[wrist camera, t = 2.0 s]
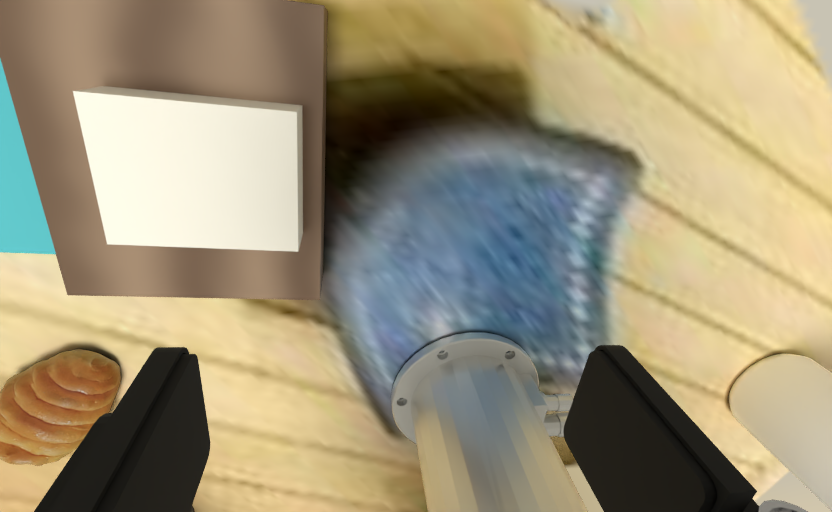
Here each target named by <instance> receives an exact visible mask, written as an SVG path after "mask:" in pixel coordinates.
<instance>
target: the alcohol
mask: <svg viewBox="0 0 832 512" xmlns="http://www.w3.org/2000/svg"><path fill="white" fill-rule="evenodd" d="M729 404H730V408H731V411H732V414H733V416H734V417H735V419H736V420H737V421H738V422H739V423H740V424H741V425H742V426H744V427H745V428H746V429H747V430H748V431H749V432H750V433H751V434H752V435H753V436H754V437H755V438H756V439H757V440H758V441H759V442H760V443H761V444H762V445H763V446H764V447H765V448H766V449H767V450H768V451H769V452H771V453H772V454H773V455H774V456H775V457H776V458H777V459H778V460H779V461H780V462H781V463H782V464H783V465H784V466H785V467H786V468H787V469H788V470H789V471H790V472H791V473H792V474H793V475H794V476H795V477H796V478H798V479H799V480H800V481H801V482H802V483H803V484H804V485H805V486H806V487H807V488H808V489H809V490H810V491H811V492H812V493H813V494H814V495H815V496H816V497H817V498H818V499H819V500H820V501H821V502H822V503H824V504H825V505H826V506H827V507H828V508H829V509H830V510H831V511H832V372H830V371H829V370H827V369H826V368H824V367H823V366H821V365H820V364H818V363H817V362H815V361H814V360H812V359H811V358H809V357H806V356H801V355H795V354H786V353H784V354H776V355H772V356H769V357H767V358H764V359H762V360H760V361H758V362H756V363H755V364H753V365H752V366H750V367H749V368H748V369H746V370H745V371H744V372H743V373H742V374H741V375H740V376H739V377H738V378H737V380H736V381H735V383H734V384H733V386H732V388H731V390H730V394H729Z"/></svg>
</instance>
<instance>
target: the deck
mask: <svg viewBox="0 0 832 512" xmlns="http://www.w3.org/2000/svg"><path fill="white" fill-rule="evenodd" d="M327 20H328V11H327V9H326V8H325V6H324V5H317V4H310V3H302V2H295V1H288V0H0V59H1V62H2V66H3V69H4V73H5V76H6V80H7V84H8V87H9V91H10V94H11V98H12V101H13V105H14V108H15V112H16V115H17V119H18V122H19V126H20V129H21V133H22V136H23V140H24V143H25V147H26V150H27V154H28V157H29V161H30V164H31V168H32V171H33V175H34V179H35V182H36V186H37V189H38V193H39V196H40V200H41V203H42V207H43V210H44V214H45V217H46V221H47V224H48V228H49V231H50V235H51V238H52V242H53V245H54V249H55V252H56V256H57V259H58V263H59V266H60V270H61V274H62V277H63V281H64V284H65V288H66V291H67V295H89V296H140V297H191V298H242V299H294V300H320V295H321V286H322V278H323V248H324V191H325V134H326V77H327ZM102 86H108V87H118V88H128V89H139V90H149V91H159V92H170V93H180V94H190V95H201V96H211V97H221V98H232V99H242V100H252V101H263V102H273V103H283V104H293V105H302V129H303V235H302V239H301V243H300V247H299V251H298V252H293V251H267V250H241V249H215V248H189V247H163V246H137V245H112V244H107V241H106V237H105V232H104V228H103V223H102V219H101V214H100V210H99V206H98V201H97V197H96V192H95V188H94V183H93V179H92V174H91V170H90V165H89V161H88V156H87V152H86V147H85V143H84V139H83V134H82V130H81V125H80V121H79V116H78V112H77V107H76V103H75V98H74V94H73V91H76V90H83V89H89V88H95V87H102Z"/></svg>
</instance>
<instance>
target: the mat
mask: <svg viewBox="0 0 832 512" xmlns="http://www.w3.org/2000/svg"><path fill="white" fill-rule="evenodd" d="M0 252H9V253H38V254H56V252H55V249H54V245H53V242H52V238H51V235H50V231H49V228H48V224H47V221H46V217H45V214H44V210H43V207H42V203H41V200H40V196H39V193H38V189H37V186H36V182H35V179H34V175H33V171H32V168H31V164H30V161H29V157H28V154H27V150H26V147H25V143H24V140H23V136H22V133H21V129H20V126H19V122H18V119H17V115H16V112H15V108H14V105H13V101H12V98H11V94H10V91H9V87H8V84H7V80H6V76H5V73H4V69H3V66H2V62H1V59H0Z"/></svg>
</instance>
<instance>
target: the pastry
mask: <svg viewBox="0 0 832 512" xmlns="http://www.w3.org/2000/svg"><path fill="white" fill-rule="evenodd" d="M120 381H121V377H120V367H119V365H118V364H117V363H116V362H115V361H113V360H110V359H108V358H107V357H105V356H103V355H101V354H99V353H96V352H92V351H88V350H82V349H75V350H71V351H66V352H61V353H59V354H57V355H55V356H53V357H51V358H49V359H48V360H44V361H41V362H38V363H36V364H34V365H32V366H31V367H29V368H28V369H27V370H25V371H23V372H21V373H19V374H17V375H15V376H13V377H11V378H10V379H8V380H7V382H6V384H5V386H4V388H3V390H2V391H1V392H0V459H1V460H3V461H5V462H7V463H10V464H20V465H21V464H32V465H35V466H40V465H43V464H47V463H51V462H55V461H58V460H60V459H61V458H62V457H64V456H66V455H67V454H69V453H71V452H72V451H73V450H74V449H76V448H78V446H79V445H80V443H81V442H82V440H83V439H84V437H85V436H86V434H87V433H88V432H89V430H90V429H91V427H92V426H93V424H94V423H95V422H96V421H97V419H98V418H99V417H100V416H102V415H103V414H105V413H109V411H110V409H111V406H112V403H113V400H114V399H115V396H116V394H117V391H118V388H119V385H120Z"/></svg>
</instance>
